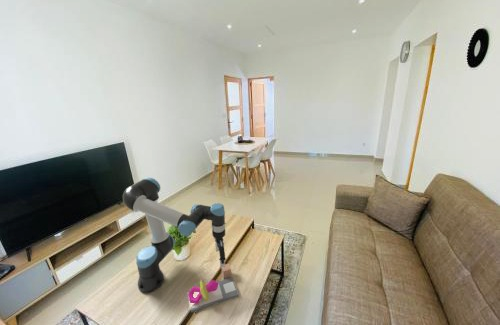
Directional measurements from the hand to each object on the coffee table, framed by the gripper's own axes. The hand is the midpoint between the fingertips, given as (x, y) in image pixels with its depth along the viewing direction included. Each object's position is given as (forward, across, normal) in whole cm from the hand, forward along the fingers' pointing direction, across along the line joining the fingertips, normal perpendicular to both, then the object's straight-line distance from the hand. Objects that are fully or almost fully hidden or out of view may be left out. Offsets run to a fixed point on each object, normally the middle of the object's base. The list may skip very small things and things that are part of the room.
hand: (220, 258), depth 129 cm
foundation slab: (+19, -7, +6) cm, 21 cm away
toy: (+18, -7, +12) cm, 23 cm away
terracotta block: (+20, +4, -4) cm, 20 cm away
